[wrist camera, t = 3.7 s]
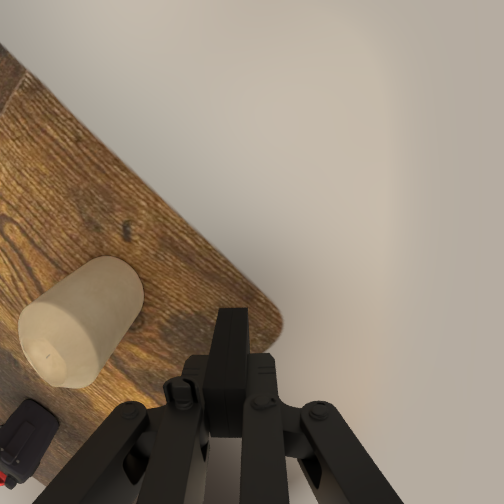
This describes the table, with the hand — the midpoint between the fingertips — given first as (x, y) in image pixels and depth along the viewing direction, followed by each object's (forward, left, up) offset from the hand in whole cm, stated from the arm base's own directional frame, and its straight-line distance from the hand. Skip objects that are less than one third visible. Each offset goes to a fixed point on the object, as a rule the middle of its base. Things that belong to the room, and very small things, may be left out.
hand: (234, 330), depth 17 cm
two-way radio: (+27, -3, -6) cm, 28 cm away
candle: (+7, -6, -6) cm, 11 cm away
